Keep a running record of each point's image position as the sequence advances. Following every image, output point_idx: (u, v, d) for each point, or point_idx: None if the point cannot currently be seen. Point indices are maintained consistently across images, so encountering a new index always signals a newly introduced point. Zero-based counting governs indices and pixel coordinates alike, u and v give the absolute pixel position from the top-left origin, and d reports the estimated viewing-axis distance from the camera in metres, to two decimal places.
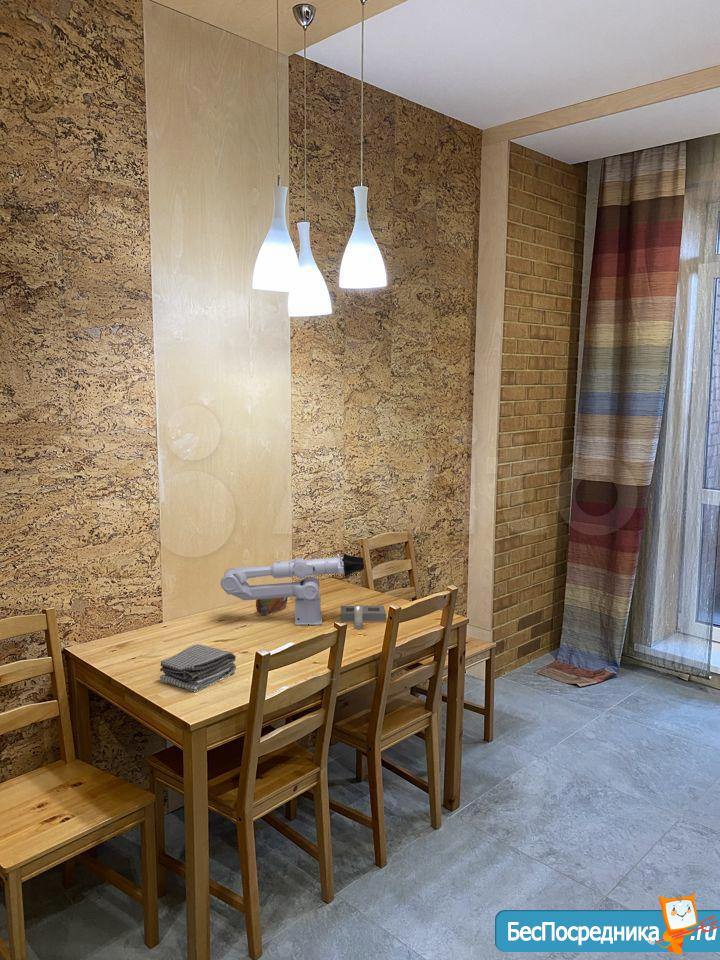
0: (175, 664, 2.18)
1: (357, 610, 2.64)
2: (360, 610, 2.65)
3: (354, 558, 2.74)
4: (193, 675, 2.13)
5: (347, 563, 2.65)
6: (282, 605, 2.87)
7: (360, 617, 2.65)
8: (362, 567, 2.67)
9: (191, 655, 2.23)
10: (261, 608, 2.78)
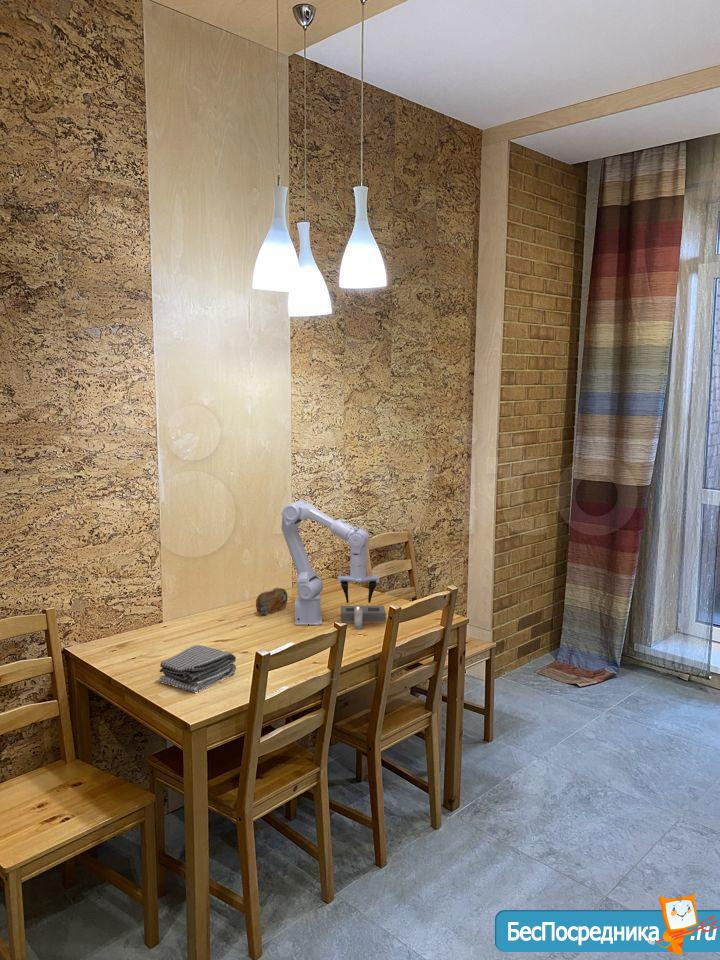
0: (175, 665, 2.17)
1: (357, 610, 2.64)
2: (360, 610, 2.65)
3: (369, 594, 2.64)
4: (193, 676, 2.12)
5: (342, 587, 2.62)
6: (282, 605, 2.87)
7: (360, 617, 2.65)
8: None
9: (191, 656, 2.22)
10: (261, 608, 2.78)
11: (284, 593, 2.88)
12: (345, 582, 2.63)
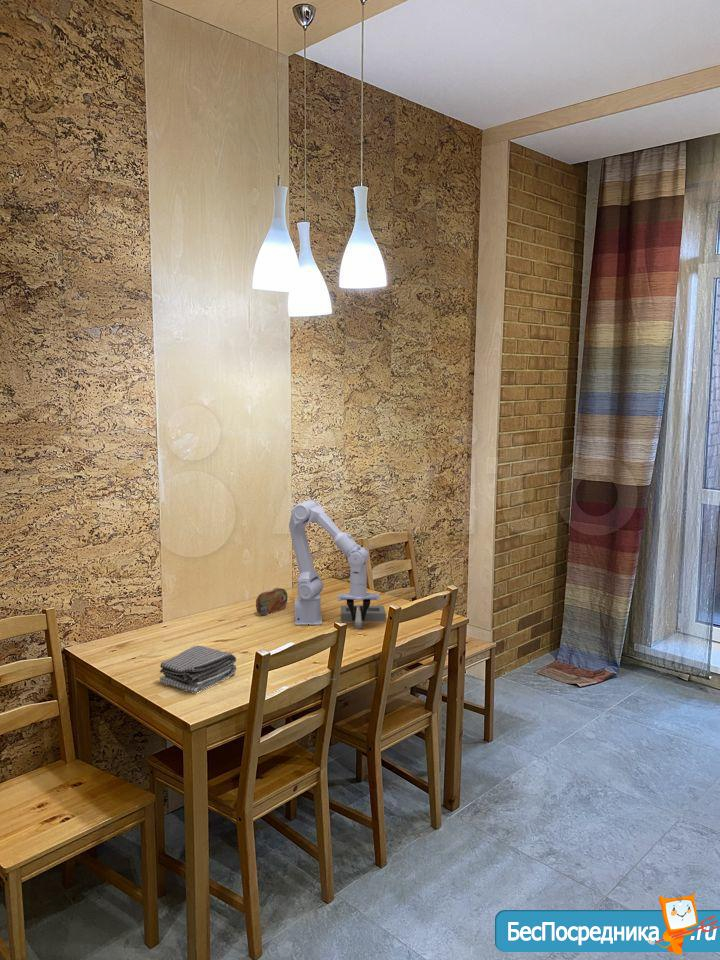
0: (175, 666, 2.17)
1: (357, 610, 2.64)
2: (360, 610, 2.65)
3: (363, 612, 2.65)
4: (193, 677, 2.11)
5: (348, 605, 2.63)
6: (282, 605, 2.87)
7: (360, 617, 2.65)
8: None
9: (191, 656, 2.22)
10: (261, 608, 2.78)
11: (284, 593, 2.88)
12: (351, 600, 2.64)
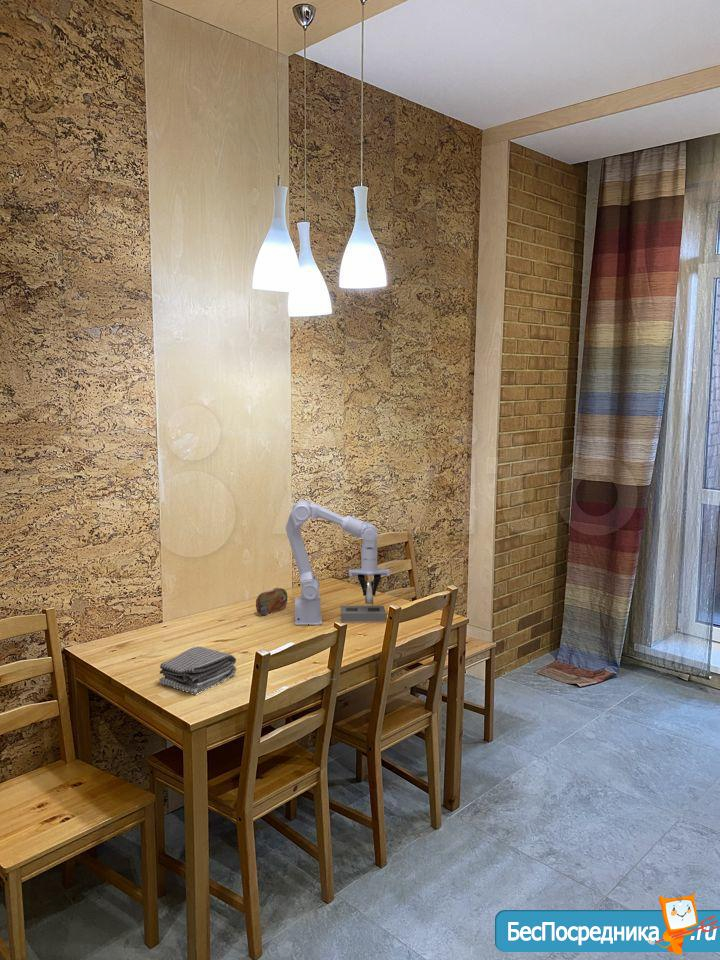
0: (175, 666, 2.16)
1: (368, 585, 2.70)
2: (371, 585, 2.70)
3: (374, 587, 2.71)
4: (193, 678, 2.11)
5: (359, 580, 2.69)
6: (282, 605, 2.87)
7: (371, 592, 2.71)
8: None
9: (191, 657, 2.21)
10: (261, 608, 2.78)
11: (284, 593, 2.88)
12: (362, 575, 2.70)
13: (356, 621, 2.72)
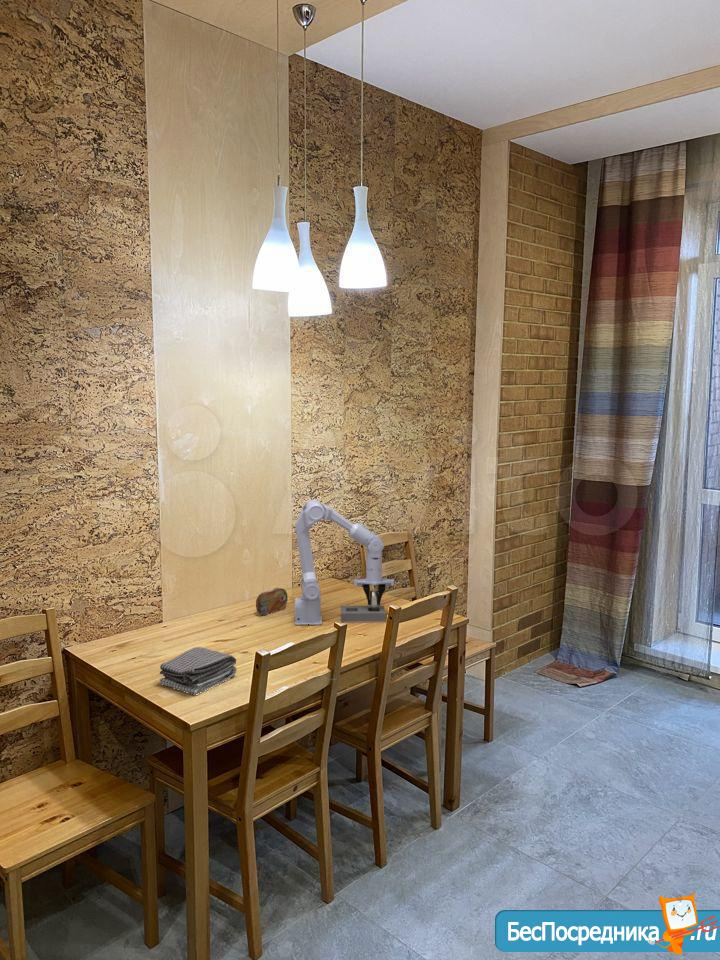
0: (175, 667, 2.15)
1: (372, 595, 2.74)
2: (375, 595, 2.74)
3: (378, 596, 2.75)
4: (193, 678, 2.10)
5: (364, 590, 2.73)
6: (282, 605, 2.87)
7: (375, 602, 2.75)
8: None
9: (191, 658, 2.21)
10: (261, 608, 2.78)
11: (284, 593, 2.88)
12: (367, 585, 2.74)
13: (356, 621, 2.72)
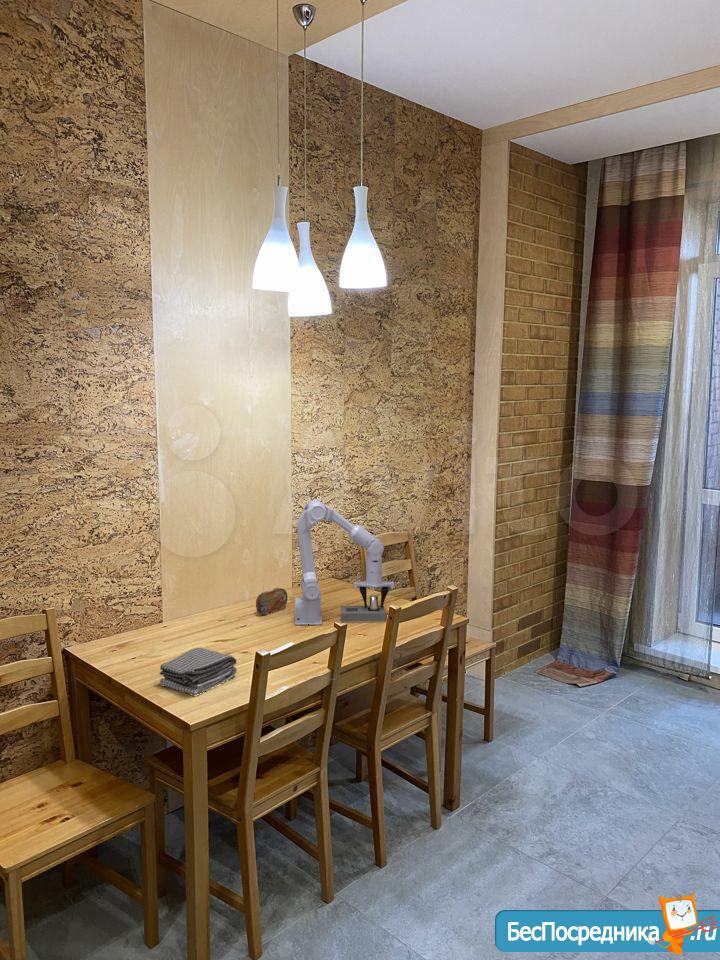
0: (175, 668, 2.15)
1: (372, 600, 2.74)
2: (375, 600, 2.75)
3: (381, 599, 2.75)
4: (193, 679, 2.10)
5: None
6: (282, 605, 2.87)
7: (375, 607, 2.75)
8: None
9: (191, 658, 2.20)
10: (261, 608, 2.78)
11: (284, 593, 2.88)
12: (363, 588, 2.74)
13: (356, 621, 2.72)
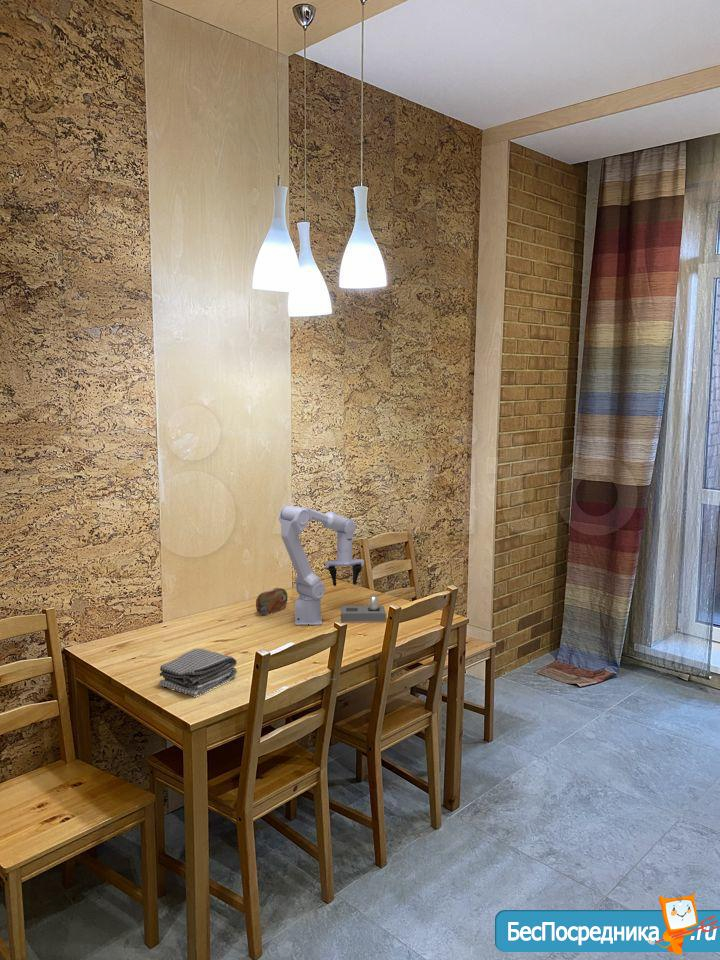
0: (175, 669, 2.14)
1: (372, 600, 2.74)
2: (375, 600, 2.75)
3: (354, 576, 2.83)
4: (193, 680, 2.09)
5: (330, 572, 2.79)
6: (282, 605, 2.87)
7: (375, 607, 2.75)
8: (333, 583, 2.83)
9: (191, 659, 2.20)
10: (261, 608, 2.78)
11: (284, 593, 2.88)
12: (333, 566, 2.81)
13: (356, 621, 2.72)
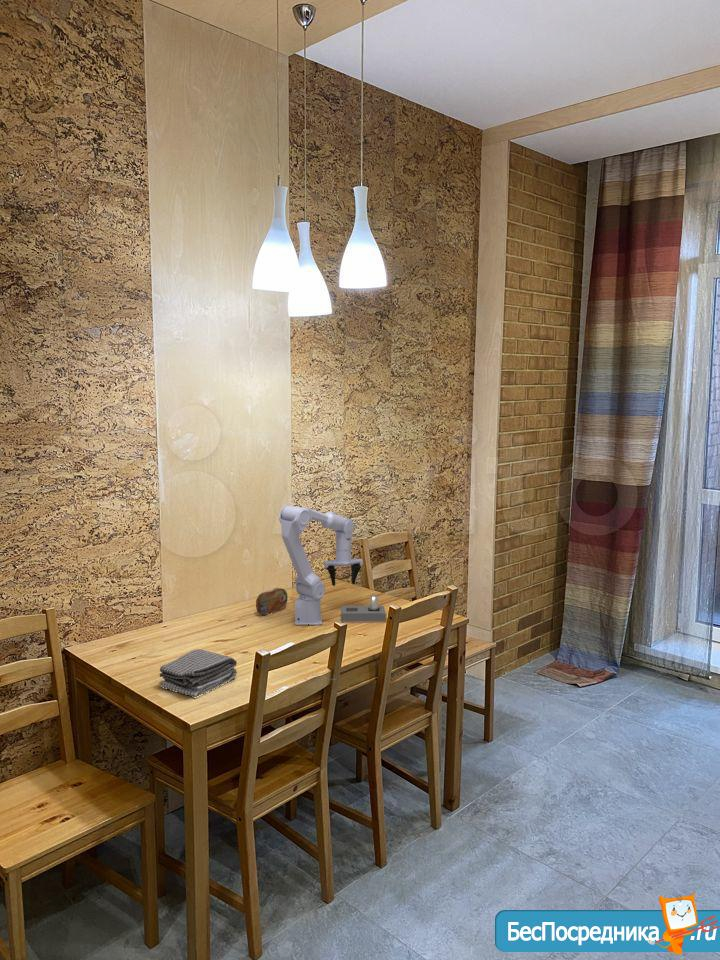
0: (175, 670, 2.14)
1: (373, 600, 2.74)
2: (376, 600, 2.75)
3: (353, 576, 2.83)
4: (193, 681, 2.09)
5: (330, 571, 2.80)
6: (282, 605, 2.87)
7: (375, 607, 2.75)
8: (332, 583, 2.83)
9: (191, 660, 2.19)
10: (261, 608, 2.78)
11: (284, 593, 2.88)
12: (332, 566, 2.81)
13: (356, 621, 2.72)
